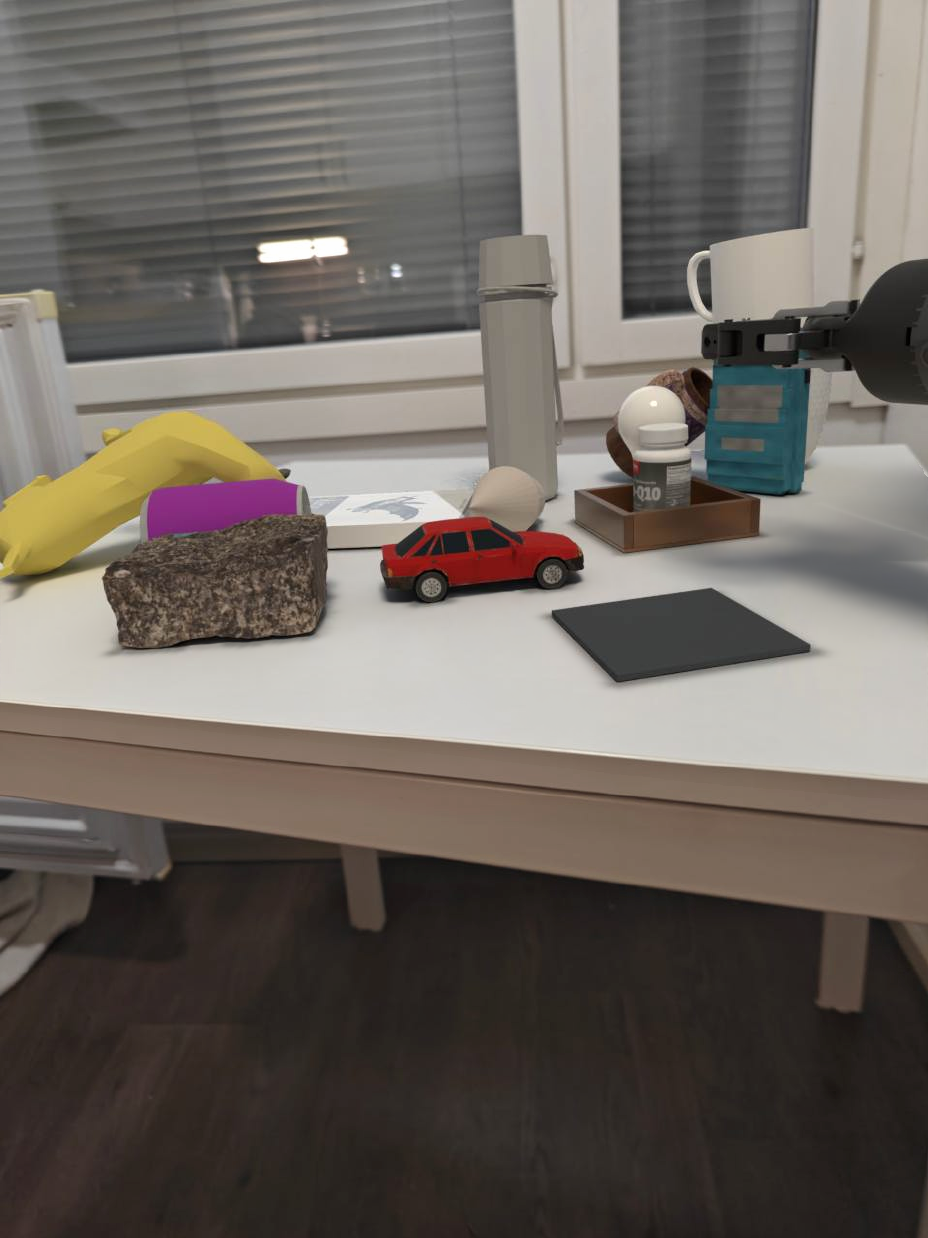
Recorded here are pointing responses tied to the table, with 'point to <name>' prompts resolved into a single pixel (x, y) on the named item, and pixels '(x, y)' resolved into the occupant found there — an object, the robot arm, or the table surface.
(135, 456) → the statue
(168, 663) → the table surface
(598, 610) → the mat
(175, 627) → the stone
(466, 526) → the toy car
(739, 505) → the wooden tray
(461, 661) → the table surface
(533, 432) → the water bottle
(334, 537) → the book
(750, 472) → the teal upright box
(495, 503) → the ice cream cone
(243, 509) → the beverage can
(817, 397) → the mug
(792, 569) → the table surface
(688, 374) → the mug
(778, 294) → the mug
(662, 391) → the lightbulb
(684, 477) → the pill bottle
